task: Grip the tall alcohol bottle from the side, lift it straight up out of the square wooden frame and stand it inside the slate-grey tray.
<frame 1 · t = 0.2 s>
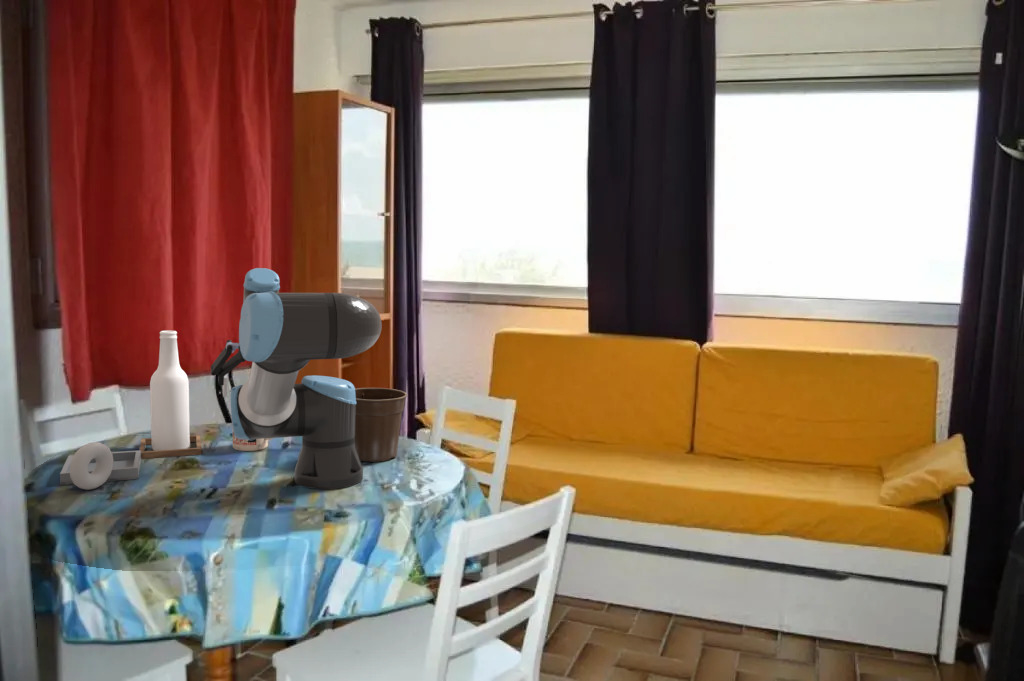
hand: (253, 392, 195), 15 cm above the table, tool tilted 35°, fingers open, 13 cm apart
square wooden frame: (171, 449, 196), on the table
plant pot: (373, 456, 196), on the table
tray: (103, 472, 176), on the table
alcohol: (171, 450, 196), resting in square wooden frame
donut: (92, 489, 164), on the table
teacup with lid: (255, 448, 200), on the table
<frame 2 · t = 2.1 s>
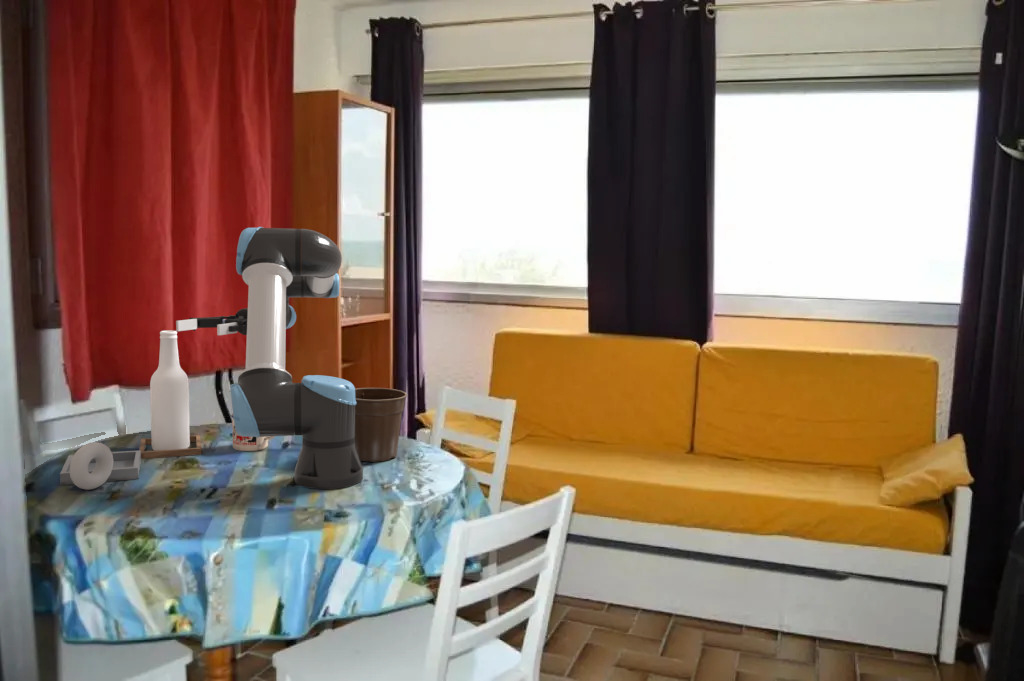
hand: (197, 328, 201), 30 cm above the table, tool horizontal, fingers open, 13 cm apart
nothing on the table moved.
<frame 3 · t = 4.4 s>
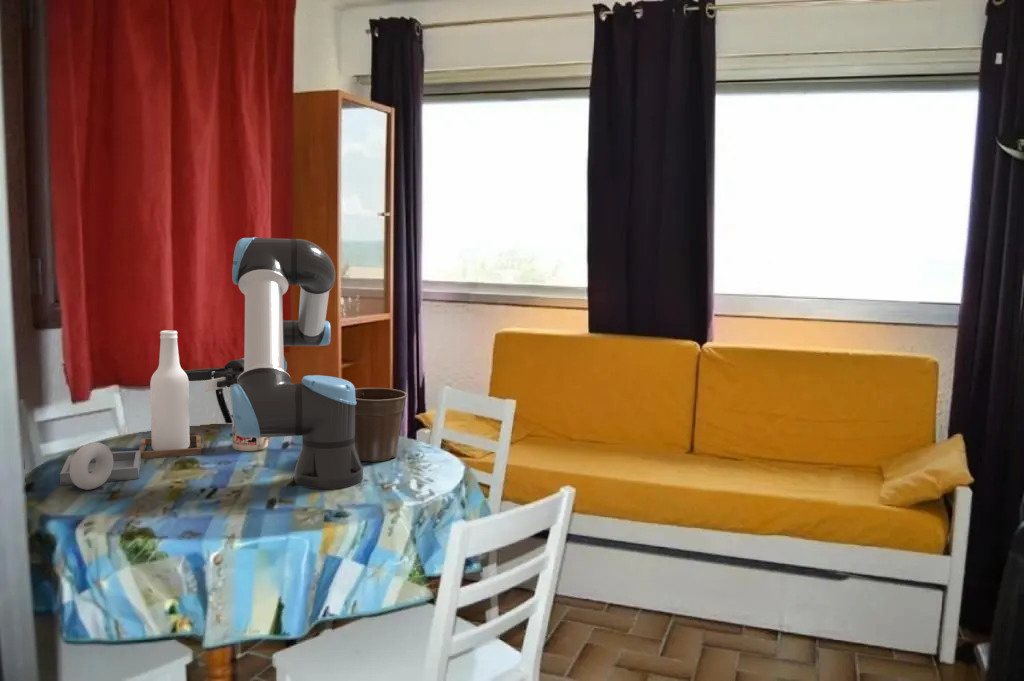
hand: (185, 383, 199), 16 cm above the table, tool horizontal, fingers open, 13 cm apart
nothing on the table moved.
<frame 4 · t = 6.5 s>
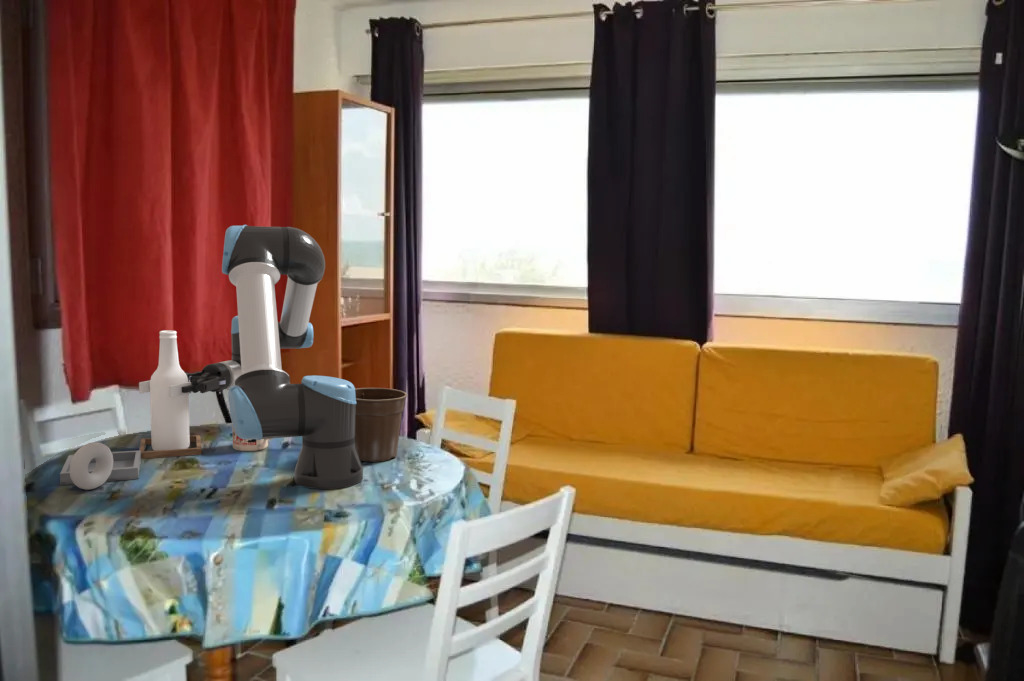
hand: (155, 389, 189), 16 cm above the table, tool horizontal, fingers closed on alcohol, 9 cm apart
alcohol: (171, 450, 196), resting in square wooden frame, touching gripper
everything else where it was.
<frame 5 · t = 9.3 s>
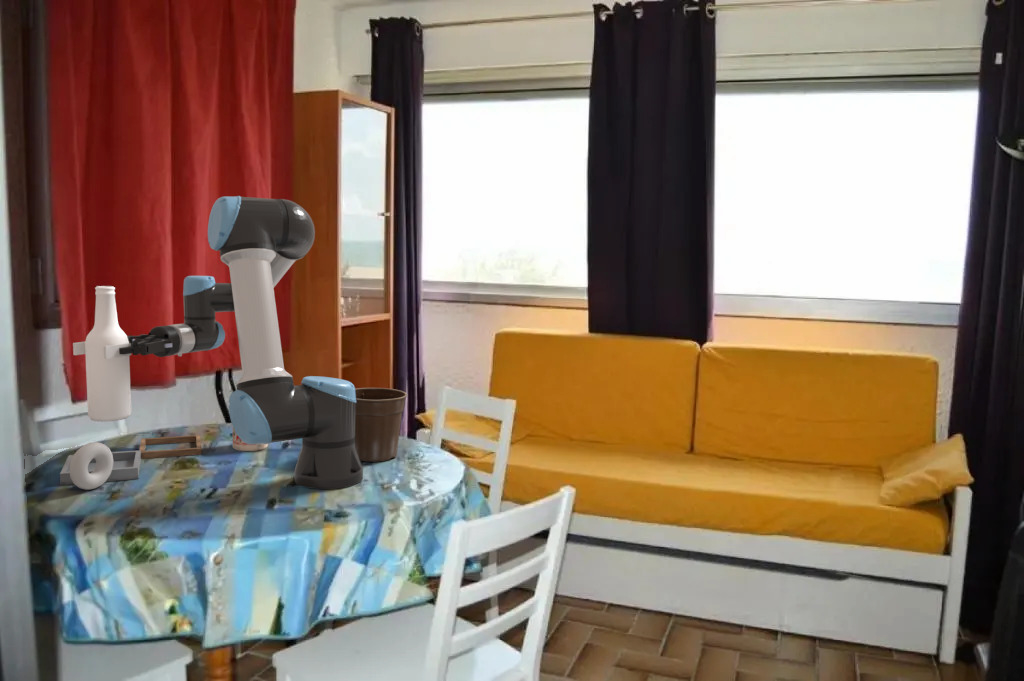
hand: (89, 350, 171), 28 cm above the table, tool horizontal, fingers closed on alcohol, 9 cm apart
alcohol: (110, 418, 178), point 12 cm above the table, touching gripper
everything else where it was.
when the fingers open (18 cm above the table, at t = 12.0 s): alcohol drops 1 cm, resting on tray.
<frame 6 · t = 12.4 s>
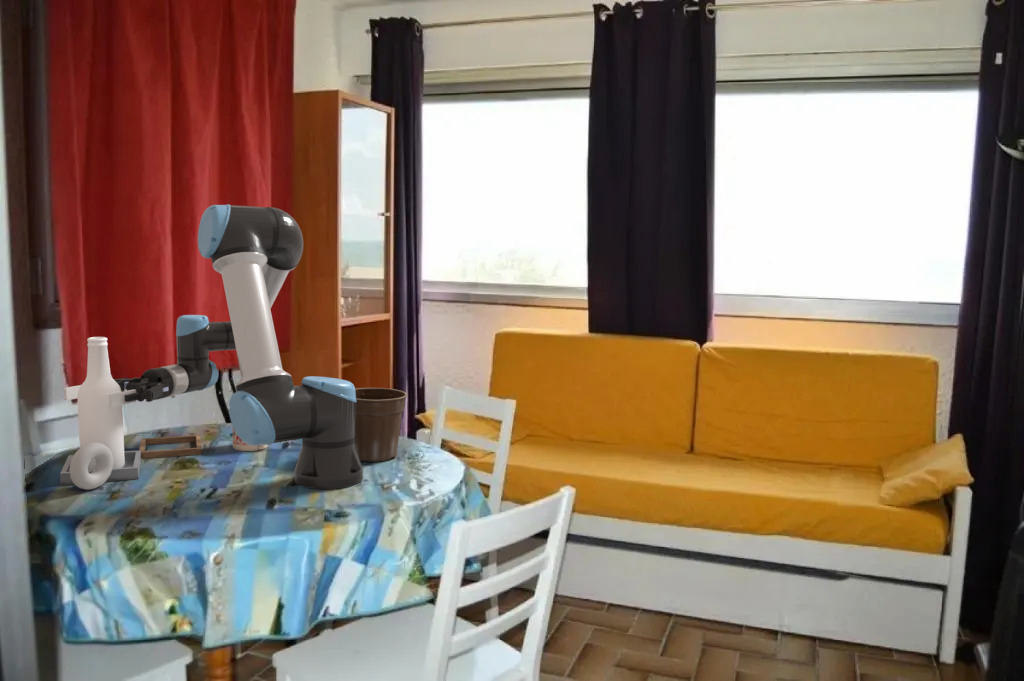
hand: (87, 397, 170), 18 cm above the table, tool horizontal, fingers open, 13 cm apart
alcohol: (103, 470, 175), resting on tray
everything else where it was.
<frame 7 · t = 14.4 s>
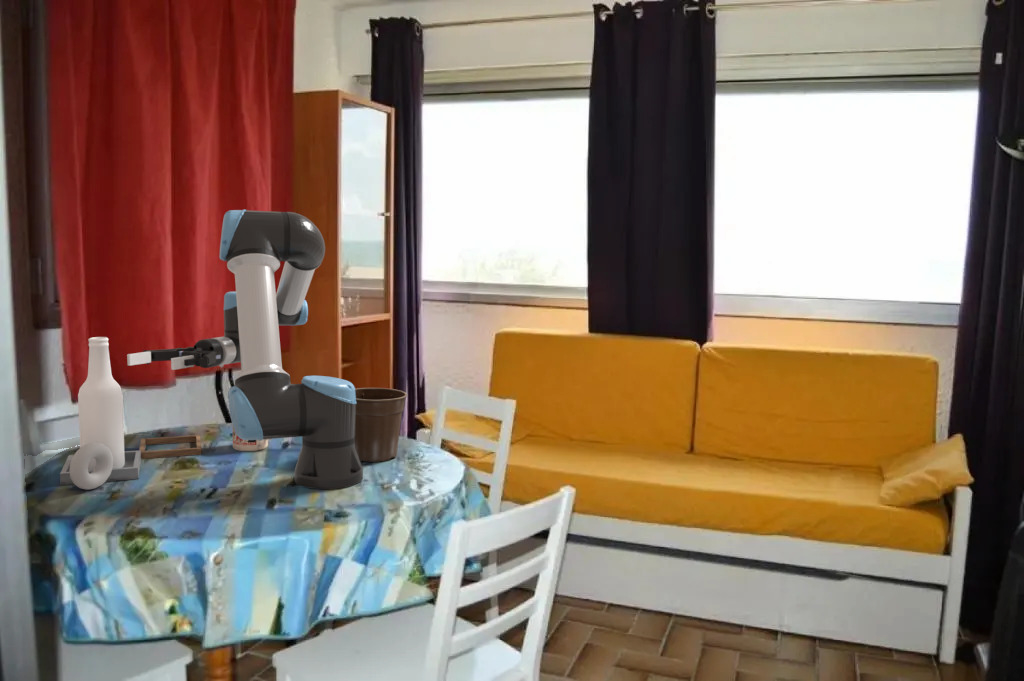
hand: (150, 362, 185), 23 cm above the table, tool horizontal, fingers open, 13 cm apart
nothing on the table moved.
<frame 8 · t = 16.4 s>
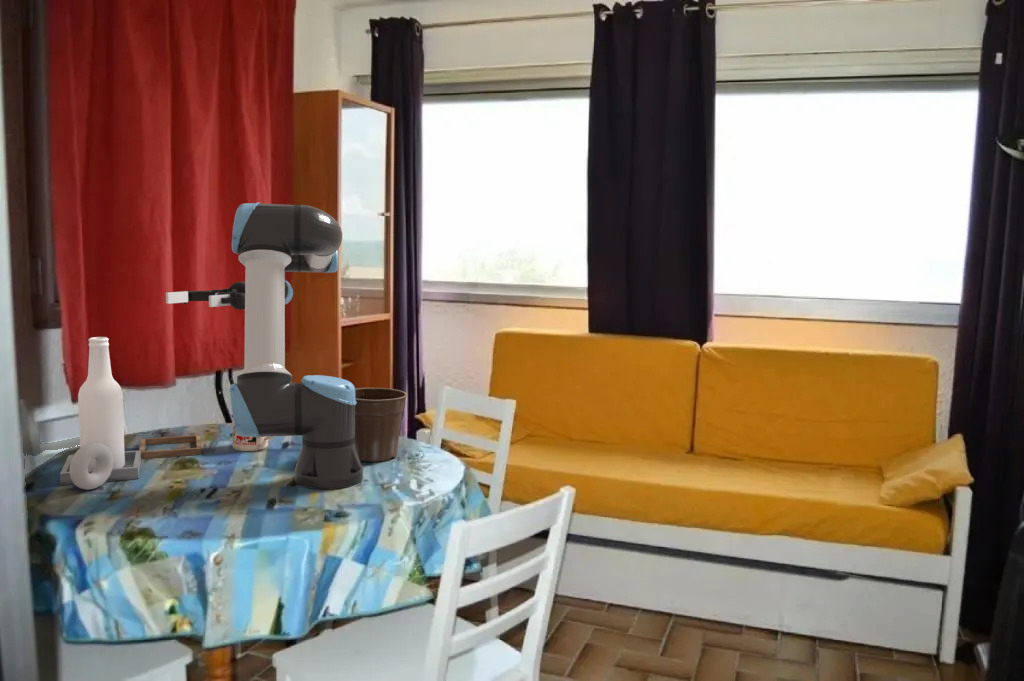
hand: (188, 299, 190), 38 cm above the table, tool horizontal, fingers open, 13 cm apart
nothing on the table moved.
at the end: alcohol inside the target area on the tray (0.1 cm from its centre), point 0.4 cm above the tray's base; alcohol tilted 0°; the gripper is holding nothing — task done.
